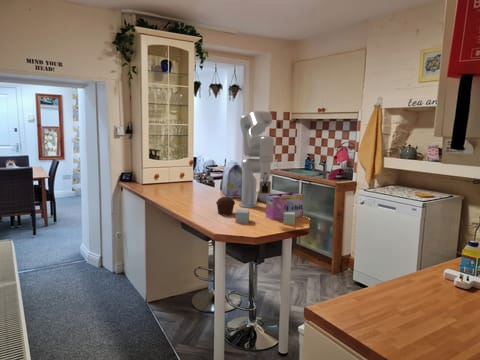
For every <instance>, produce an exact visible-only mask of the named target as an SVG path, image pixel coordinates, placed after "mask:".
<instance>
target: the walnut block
mask: <svg viewBox="0 0 480 360" xmlns="http://www.w3.org/2000/svg"><path fill="white" fill-rule="evenodd" d="M271 184H272V182H271V181H270V180H268V193H262V185H263V180H260V181H259V192H258V194H265V195H271V187H272V185H271ZM263 186H264V185H263ZM266 186H267V185H266Z"/></svg>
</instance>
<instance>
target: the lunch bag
mask: <svg viewBox="0 0 480 360" xmlns="http://www.w3.org/2000/svg"><path fill="white" fill-rule="evenodd" d="M221 192H222V193H223V194H224V195H225V197H230V198H232V199H233V198H238V199H239V198H241V199H242V167H241V165H240V164H238V161H236V160H234V159H231V160H229V161H228V162H227V163H226V165H225V166H224V167H223V171H222V186H221Z"/></svg>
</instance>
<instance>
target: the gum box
mask: <svg viewBox="0 0 480 360" xmlns="http://www.w3.org/2000/svg"><path fill="white" fill-rule="evenodd" d="M265 202H266V204H265V218H266V219H269V220H272V221H274V220H275V221H277V220H283V219H284V211H286V212H295V218H300V217H304V208H305V207H304V202H305V195H304V194H301V193H299V192H298V191H296V192H284V193H276V194H275V193H273V194H266V201H265Z"/></svg>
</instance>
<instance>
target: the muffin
mask: <svg viewBox="0 0 480 360" xmlns="http://www.w3.org/2000/svg"><path fill="white" fill-rule="evenodd" d="M215 203H216V207H217V214H218V215H220V216H231V215H233V213H234V207H235V204H236V202H235V200H234V199H233V198H230V197H227V196H222V197H219V198H218V199H217V201H216V202H215Z"/></svg>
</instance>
